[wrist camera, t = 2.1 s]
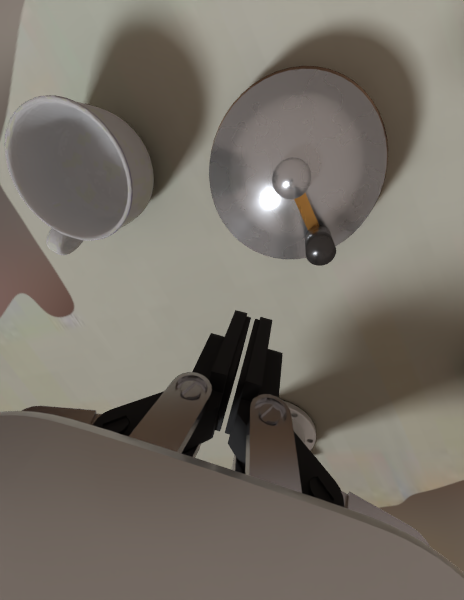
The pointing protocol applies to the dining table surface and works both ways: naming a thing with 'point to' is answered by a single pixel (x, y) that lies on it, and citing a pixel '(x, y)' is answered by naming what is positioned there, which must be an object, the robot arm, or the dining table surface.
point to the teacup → (77, 169)
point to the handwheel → (298, 164)
